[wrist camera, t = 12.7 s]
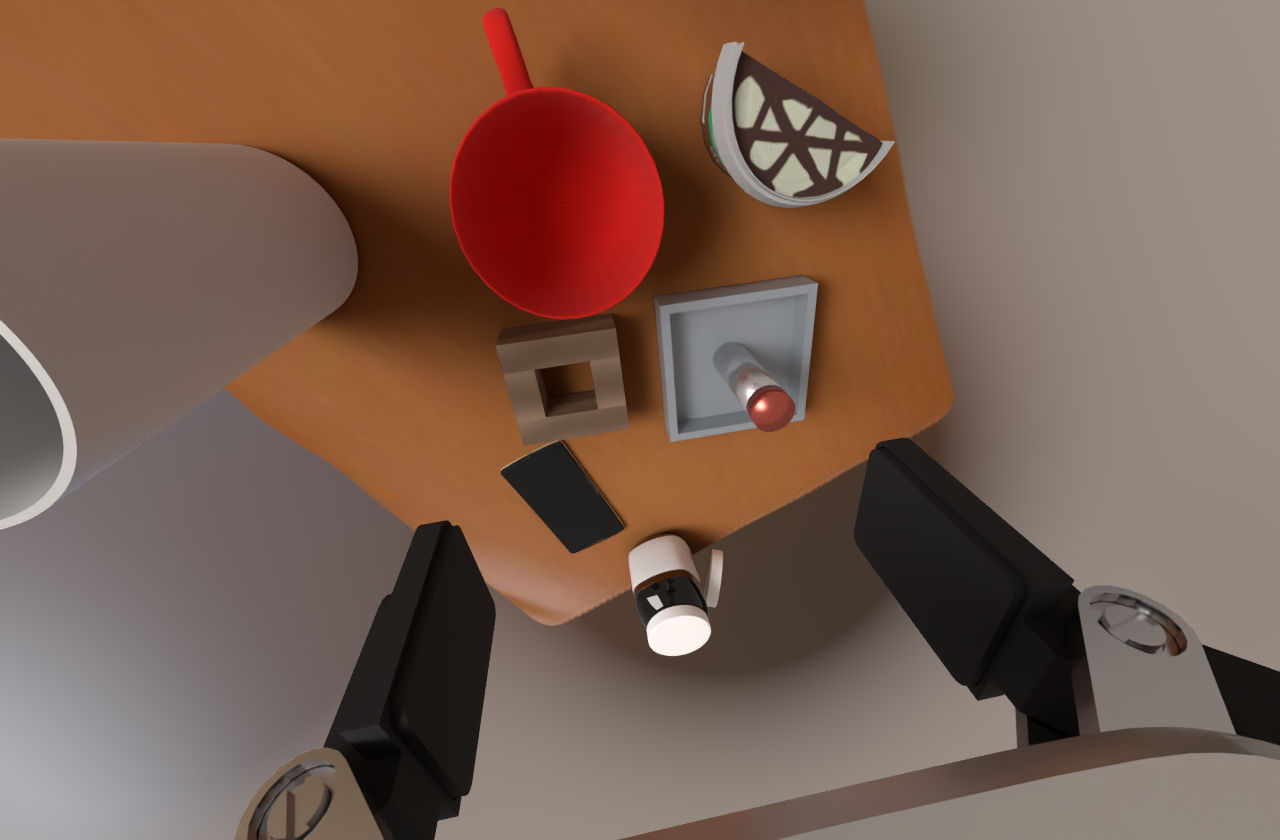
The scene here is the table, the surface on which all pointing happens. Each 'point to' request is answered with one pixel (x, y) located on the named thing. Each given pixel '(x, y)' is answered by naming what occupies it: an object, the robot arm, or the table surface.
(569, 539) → the dark small pieces
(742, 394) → the steel pin
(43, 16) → the table surface
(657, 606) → the jar and lid
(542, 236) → the red bowl
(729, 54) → the food container
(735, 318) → the slate tray
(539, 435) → the walnut socket block
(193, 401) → the cylinder vase
